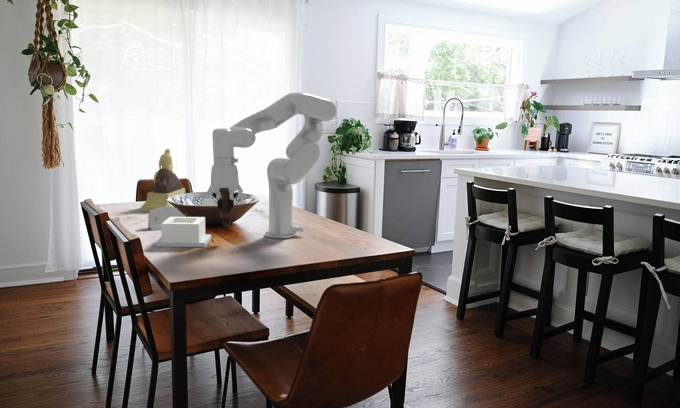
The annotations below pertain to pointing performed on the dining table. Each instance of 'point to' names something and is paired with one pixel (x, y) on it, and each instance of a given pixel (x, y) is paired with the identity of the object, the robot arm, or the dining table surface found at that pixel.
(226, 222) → the bolt
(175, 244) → the socket post
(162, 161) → the yellow and brown statue
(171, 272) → the dining table surface
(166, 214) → the grey arched bracket
